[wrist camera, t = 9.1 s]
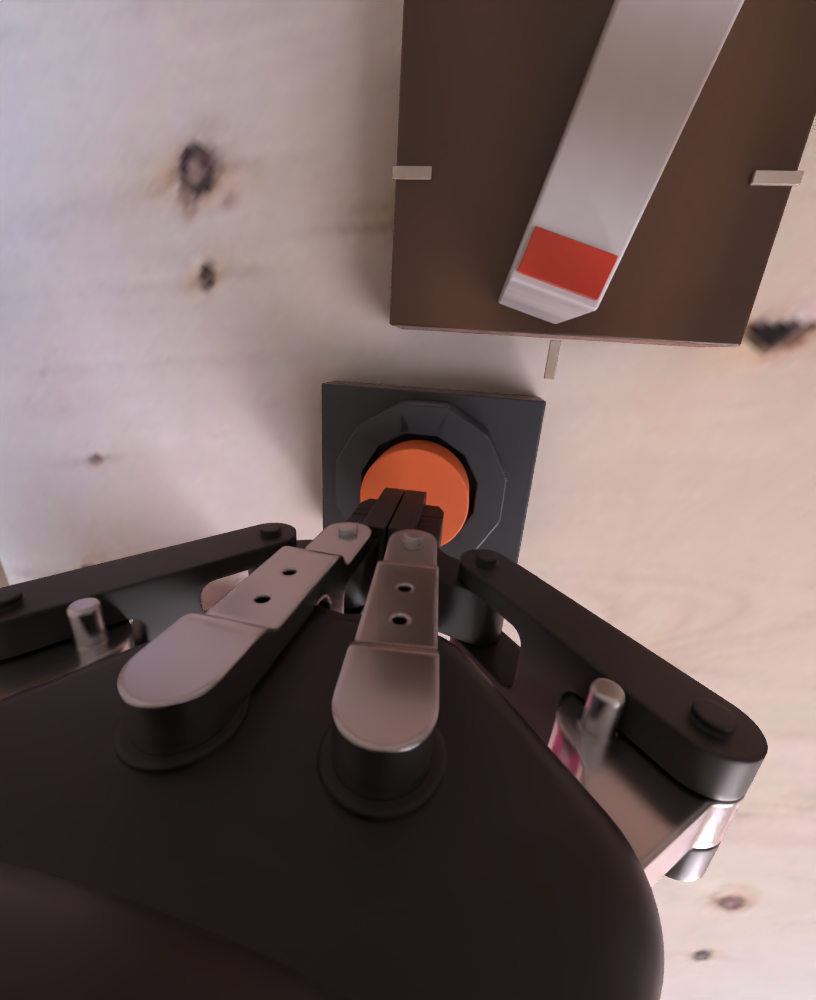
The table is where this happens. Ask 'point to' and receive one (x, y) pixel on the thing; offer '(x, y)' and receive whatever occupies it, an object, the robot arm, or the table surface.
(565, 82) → the block
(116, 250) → the table surface
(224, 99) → the table surface
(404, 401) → the grey base
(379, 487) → the button
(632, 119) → the white bar red tip
